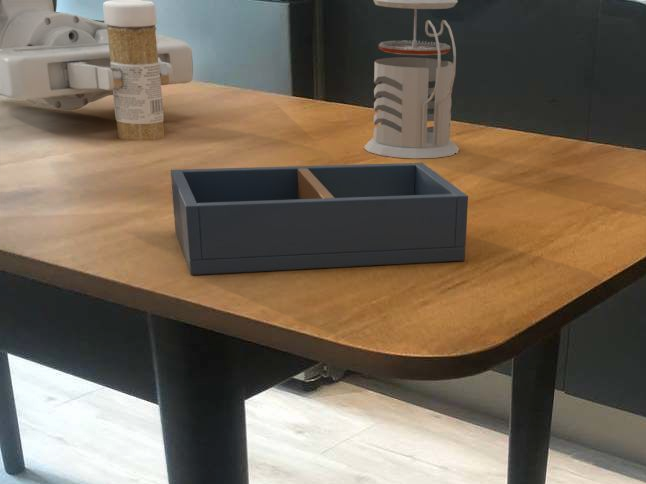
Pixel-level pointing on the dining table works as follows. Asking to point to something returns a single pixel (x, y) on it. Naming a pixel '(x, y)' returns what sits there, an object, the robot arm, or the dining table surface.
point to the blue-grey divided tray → (316, 217)
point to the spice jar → (135, 68)
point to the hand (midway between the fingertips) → (142, 76)
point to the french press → (414, 92)
